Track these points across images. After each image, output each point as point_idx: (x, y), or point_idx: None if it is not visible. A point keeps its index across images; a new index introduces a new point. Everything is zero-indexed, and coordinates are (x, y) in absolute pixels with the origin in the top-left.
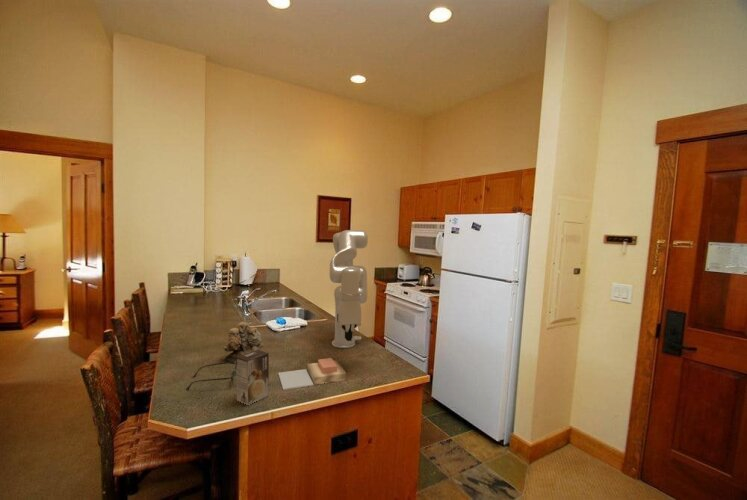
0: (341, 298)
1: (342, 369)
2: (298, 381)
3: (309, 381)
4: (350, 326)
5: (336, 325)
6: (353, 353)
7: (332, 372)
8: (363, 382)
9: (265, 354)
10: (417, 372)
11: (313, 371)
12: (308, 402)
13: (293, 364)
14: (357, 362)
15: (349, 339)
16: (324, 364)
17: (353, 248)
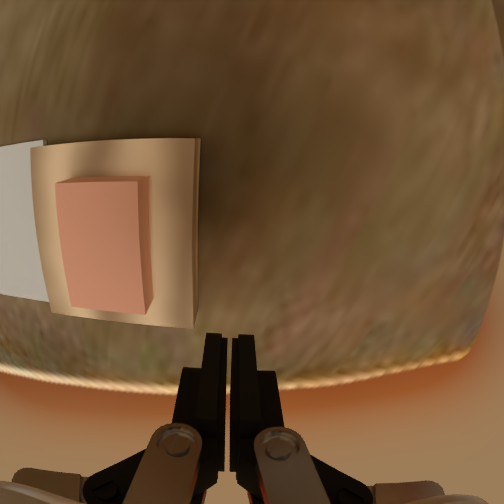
0: None
1: (188, 283)
2: (13, 257)
3: None
4: (272, 490)
5: (13, 477)
6: (374, 6)
7: None
8: (265, 347)
9: None
10: (478, 326)
11: (46, 251)
12: (57, 380)
13: (21, 58)
14: (347, 126)
15: (230, 394)
16: (80, 268)
17: None
